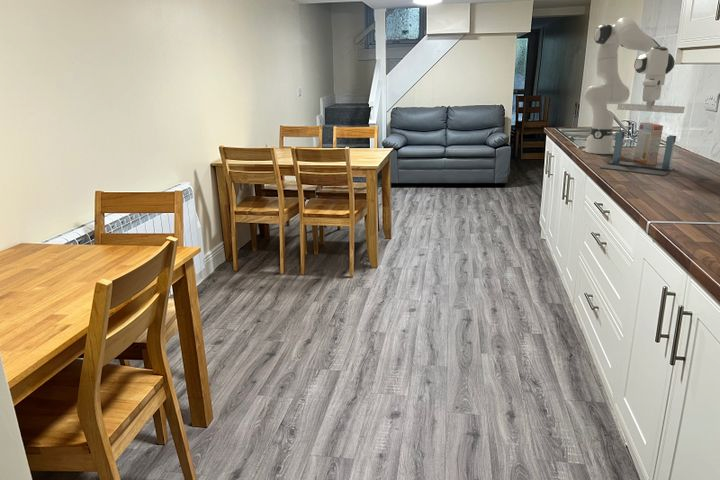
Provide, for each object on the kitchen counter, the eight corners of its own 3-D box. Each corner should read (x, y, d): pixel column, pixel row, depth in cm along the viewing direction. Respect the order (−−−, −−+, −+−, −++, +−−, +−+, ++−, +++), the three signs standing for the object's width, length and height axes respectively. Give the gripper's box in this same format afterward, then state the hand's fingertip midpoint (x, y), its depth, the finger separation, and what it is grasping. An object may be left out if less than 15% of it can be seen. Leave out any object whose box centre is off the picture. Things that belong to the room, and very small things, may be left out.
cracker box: (656, 165, 287) (664, 125, 280) (645, 165, 287) (652, 125, 280) (644, 160, 300) (650, 122, 294) (633, 160, 300) (639, 122, 294)
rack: (611, 162, 295) (616, 130, 289) (673, 169, 277) (680, 135, 271) (607, 164, 289) (612, 132, 284) (670, 172, 271) (676, 137, 265)
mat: (605, 165, 287) (605, 164, 287) (668, 173, 269) (669, 171, 269) (599, 168, 280) (599, 167, 279) (664, 176, 261) (664, 175, 261)
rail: (618, 109, 284) (619, 103, 283) (683, 113, 266) (684, 106, 265) (617, 109, 282) (617, 103, 281) (682, 113, 264) (683, 107, 263)
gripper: (652, 80, 279) (647, 108, 283) (642, 81, 264) (637, 111, 268) (666, 80, 275) (661, 108, 279) (656, 82, 260) (651, 111, 264)
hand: (649, 110), depth 274 cm, fingers closed on rail, 3 cm apart
